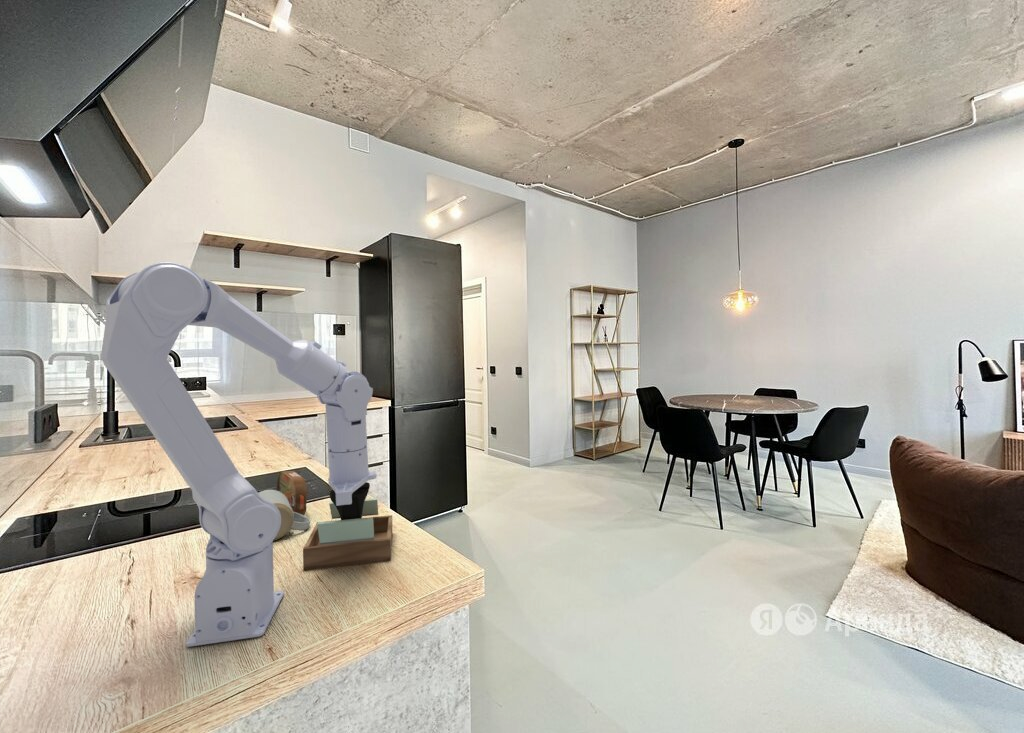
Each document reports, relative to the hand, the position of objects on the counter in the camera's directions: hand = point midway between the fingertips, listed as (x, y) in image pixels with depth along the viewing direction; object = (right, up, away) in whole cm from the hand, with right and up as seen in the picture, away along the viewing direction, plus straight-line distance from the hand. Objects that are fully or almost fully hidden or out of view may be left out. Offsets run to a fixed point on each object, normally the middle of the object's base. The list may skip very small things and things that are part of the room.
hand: (352, 532), depth 67 cm
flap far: (-3, 0, +10) cm, 10 cm away
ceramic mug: (-19, -5, +13) cm, 24 cm away
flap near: (-1, +1, 0) cm, 1 cm away
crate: (-2, -5, +6) cm, 8 cm away
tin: (-22, -5, +23) cm, 32 cm away
